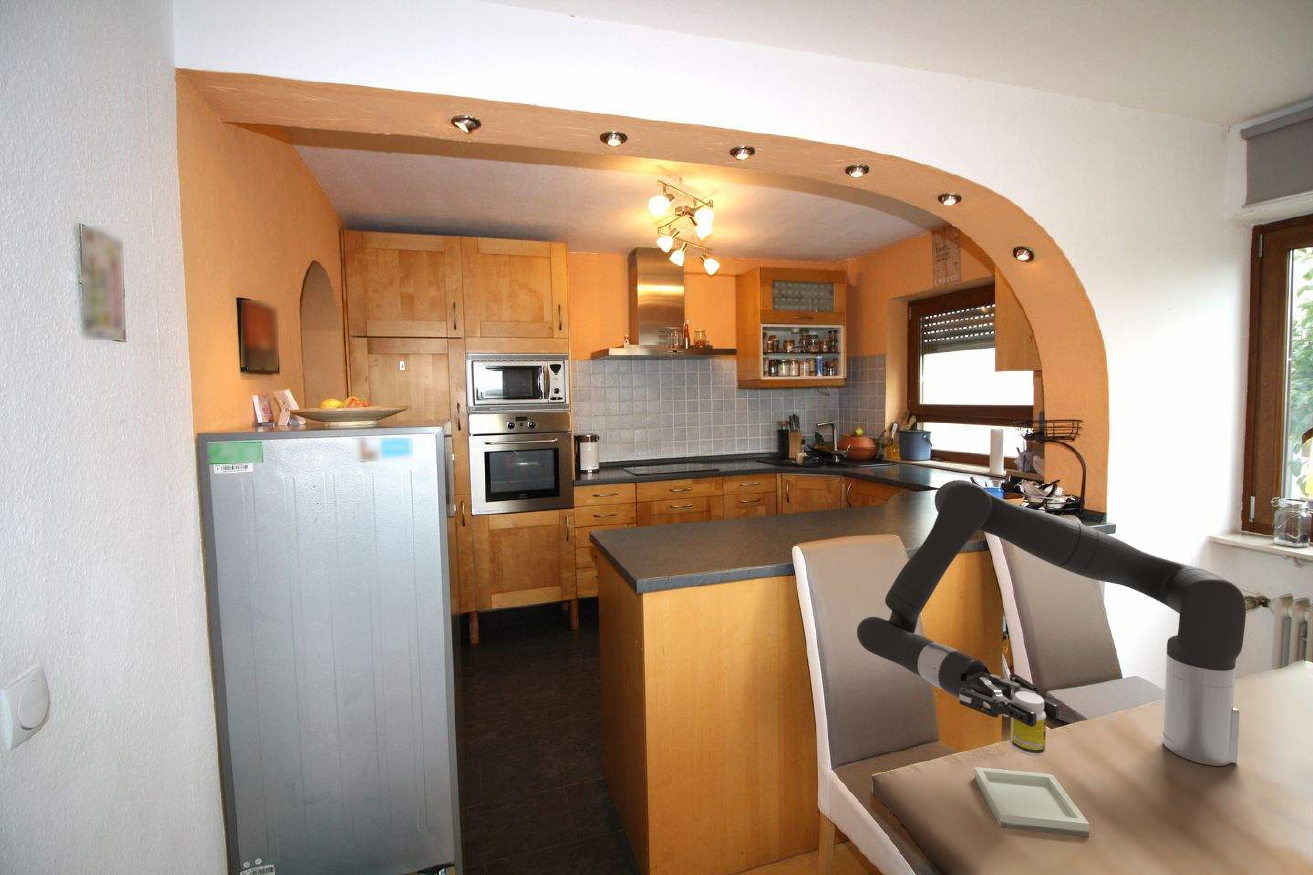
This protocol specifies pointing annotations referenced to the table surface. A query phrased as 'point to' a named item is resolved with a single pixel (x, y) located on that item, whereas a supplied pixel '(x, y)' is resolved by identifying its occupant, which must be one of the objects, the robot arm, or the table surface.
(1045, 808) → the tray
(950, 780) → the table surface
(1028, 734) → the supplement bottle
